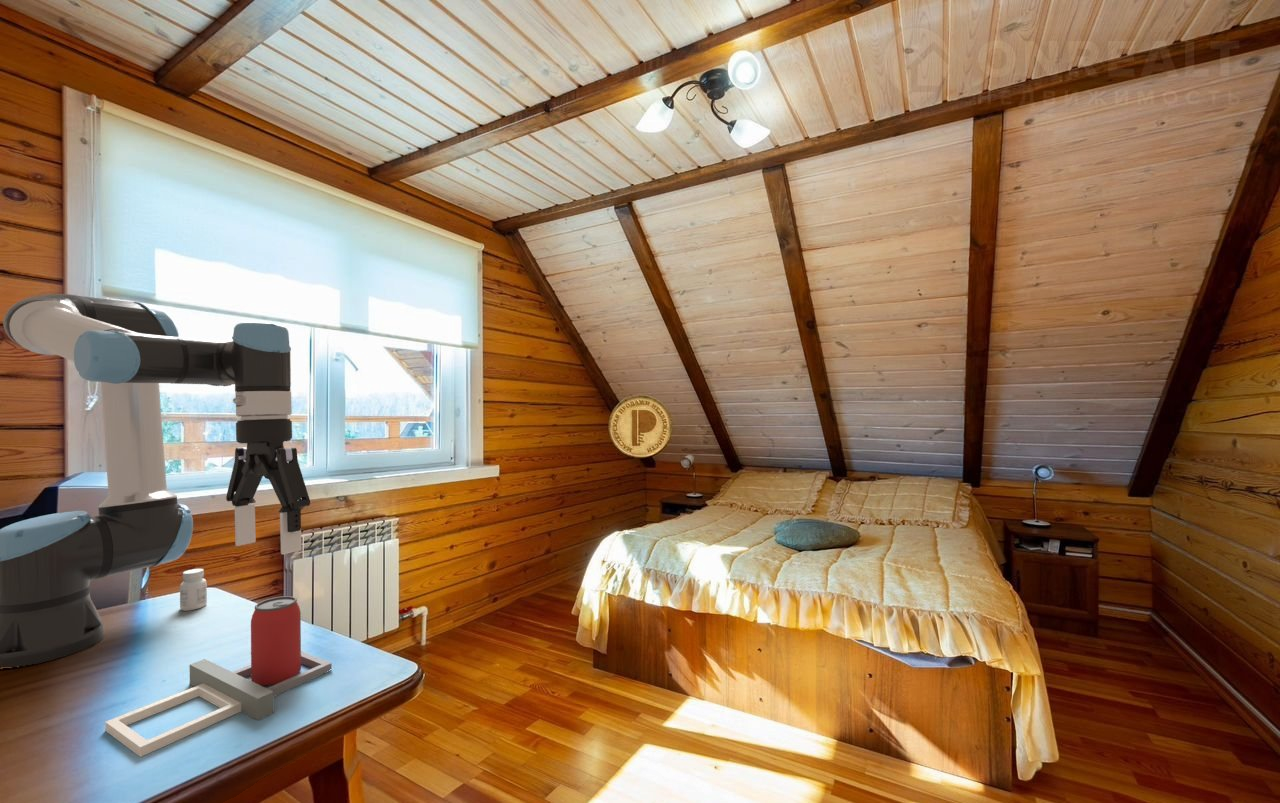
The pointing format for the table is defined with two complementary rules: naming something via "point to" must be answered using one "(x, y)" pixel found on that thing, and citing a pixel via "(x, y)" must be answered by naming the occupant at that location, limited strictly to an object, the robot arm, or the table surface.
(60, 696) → the table surface
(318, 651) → the table surface
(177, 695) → the double frame with crossbar
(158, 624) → the table surface
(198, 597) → the pill bottle
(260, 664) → the beer can
